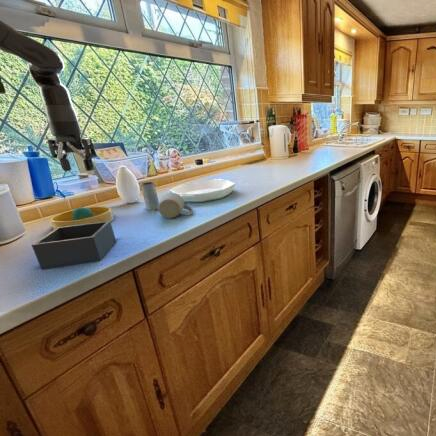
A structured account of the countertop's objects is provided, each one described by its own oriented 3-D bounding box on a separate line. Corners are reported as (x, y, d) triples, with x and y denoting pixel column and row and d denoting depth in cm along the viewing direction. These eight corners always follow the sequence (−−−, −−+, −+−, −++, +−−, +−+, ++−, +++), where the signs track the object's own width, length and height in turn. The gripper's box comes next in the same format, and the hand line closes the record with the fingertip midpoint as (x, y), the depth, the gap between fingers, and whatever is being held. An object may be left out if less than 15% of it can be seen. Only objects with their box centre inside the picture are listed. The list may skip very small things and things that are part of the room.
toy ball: (71, 227, 99) (66, 211, 97) (79, 221, 104) (73, 206, 102) (91, 224, 101) (86, 208, 99) (97, 219, 106) (93, 204, 104)
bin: (41, 269, 73) (31, 245, 71) (65, 249, 84) (57, 227, 82) (100, 260, 76) (93, 237, 74) (116, 241, 87) (110, 221, 85)
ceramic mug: (159, 220, 104) (154, 199, 101) (163, 213, 111) (159, 193, 108) (192, 217, 107) (188, 196, 104) (194, 210, 114) (191, 190, 111)
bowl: (44, 237, 93) (39, 224, 92) (68, 220, 108) (64, 209, 106) (104, 229, 98) (101, 217, 96) (120, 214, 112) (117, 204, 111)
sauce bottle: (132, 199, 132) (121, 158, 126) (147, 200, 130) (136, 158, 124) (116, 204, 125) (104, 161, 119) (131, 205, 123) (119, 161, 117)
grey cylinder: (153, 211, 114) (146, 185, 111) (144, 210, 116) (137, 184, 112) (162, 207, 118) (156, 182, 115) (154, 207, 120) (148, 181, 116)
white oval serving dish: (214, 206, 118) (212, 195, 116) (155, 206, 121) (152, 195, 120) (245, 187, 146) (244, 178, 145) (197, 187, 150) (195, 178, 149)
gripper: (31, 121, 93) (49, 173, 99) (71, 119, 91) (88, 172, 97) (54, 120, 100) (70, 168, 106) (92, 119, 98) (106, 168, 104)
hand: (78, 170), depth 101 cm, fingers open, 8 cm apart
